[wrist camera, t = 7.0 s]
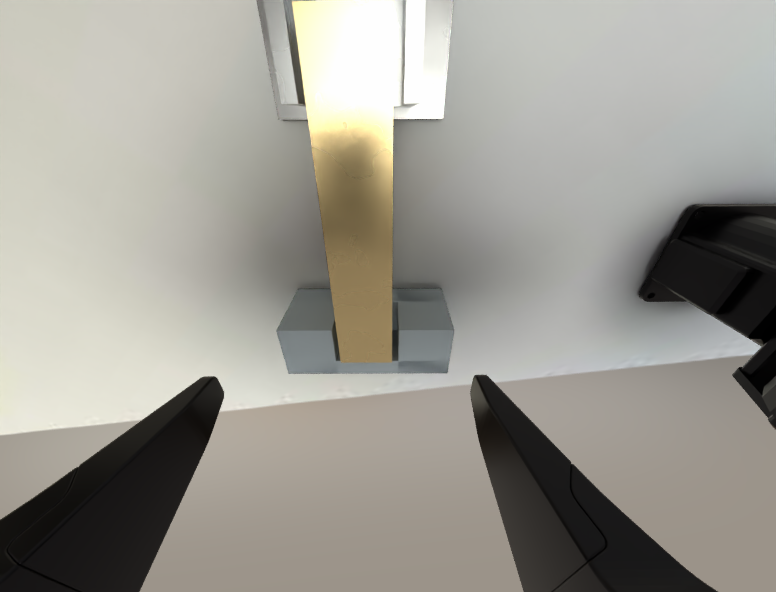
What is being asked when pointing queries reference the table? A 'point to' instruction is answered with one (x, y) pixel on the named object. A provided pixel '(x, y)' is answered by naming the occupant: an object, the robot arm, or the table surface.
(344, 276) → the tan square rod
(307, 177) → the table surface
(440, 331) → the slate-blue socket
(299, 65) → the grey sleeve
